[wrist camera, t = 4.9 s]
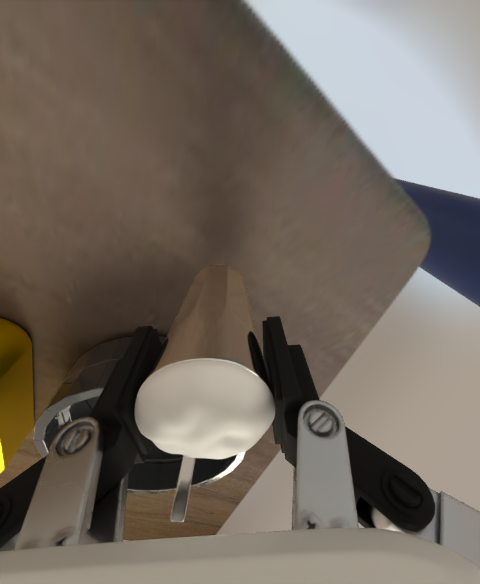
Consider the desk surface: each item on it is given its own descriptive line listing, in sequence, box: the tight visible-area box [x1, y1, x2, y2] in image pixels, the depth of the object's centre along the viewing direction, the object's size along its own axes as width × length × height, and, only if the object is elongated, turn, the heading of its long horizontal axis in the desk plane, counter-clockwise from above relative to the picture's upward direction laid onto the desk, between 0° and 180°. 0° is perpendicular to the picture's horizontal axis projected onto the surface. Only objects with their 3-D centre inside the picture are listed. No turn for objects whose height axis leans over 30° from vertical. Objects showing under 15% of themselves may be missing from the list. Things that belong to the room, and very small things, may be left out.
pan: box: [33, 336, 246, 493], centre depth 21 cm, size 15×15×5 cm
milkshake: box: [134, 265, 275, 522], centre depth 11 cm, size 4×5×10 cm
